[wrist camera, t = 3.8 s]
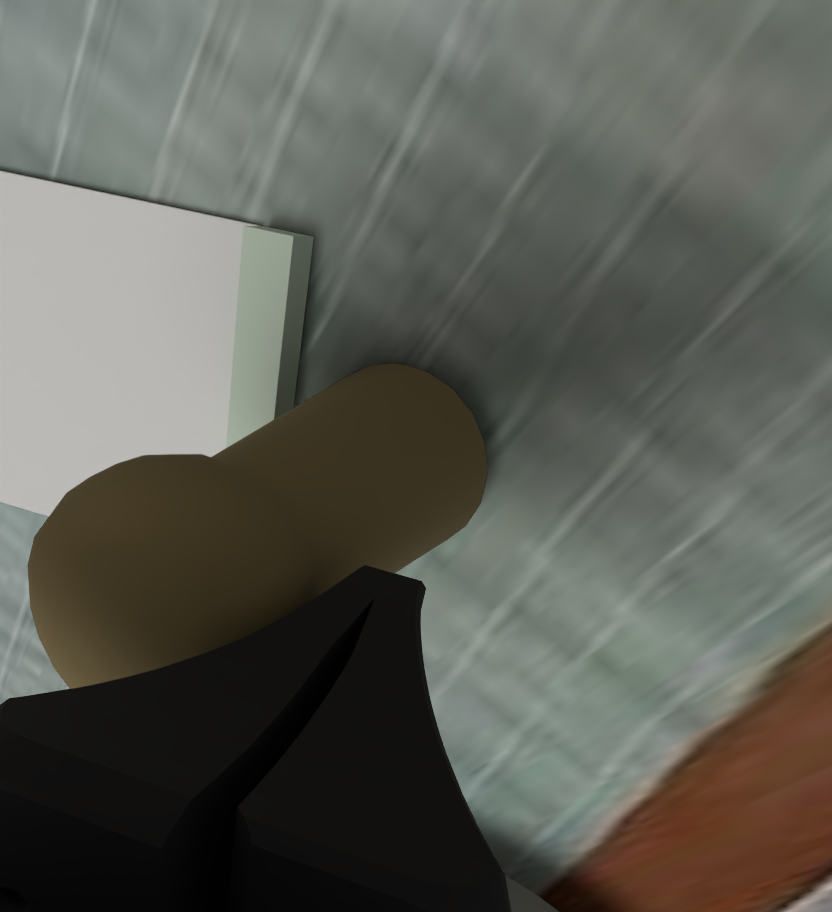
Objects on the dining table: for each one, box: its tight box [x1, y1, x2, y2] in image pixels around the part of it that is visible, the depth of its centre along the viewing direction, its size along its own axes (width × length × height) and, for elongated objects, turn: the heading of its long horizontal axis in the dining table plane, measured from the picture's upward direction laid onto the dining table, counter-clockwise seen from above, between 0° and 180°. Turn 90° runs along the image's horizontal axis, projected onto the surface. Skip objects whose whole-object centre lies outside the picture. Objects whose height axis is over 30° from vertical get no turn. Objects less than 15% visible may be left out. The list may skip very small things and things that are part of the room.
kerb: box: [226, 226, 314, 448], centre depth 20 cm, size 2×12×2 cm, turn 169°
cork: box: [28, 363, 488, 689], centre depth 15 cm, size 6×6×11 cm
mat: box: [0, 170, 263, 516], centre depth 21 cm, size 12×12×1 cm
